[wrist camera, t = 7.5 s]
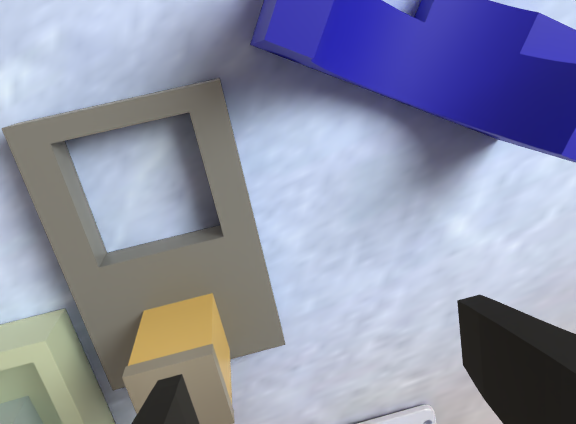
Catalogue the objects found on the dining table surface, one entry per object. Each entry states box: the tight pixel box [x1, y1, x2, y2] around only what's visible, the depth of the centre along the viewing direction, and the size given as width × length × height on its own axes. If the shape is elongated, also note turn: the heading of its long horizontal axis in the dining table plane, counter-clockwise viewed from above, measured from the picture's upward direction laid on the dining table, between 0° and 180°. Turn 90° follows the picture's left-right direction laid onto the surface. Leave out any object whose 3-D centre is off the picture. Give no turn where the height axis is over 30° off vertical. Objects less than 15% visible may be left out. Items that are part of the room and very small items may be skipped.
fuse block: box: [2, 78, 285, 424], centre depth 17 cm, size 12×8×6 cm, turn 11°
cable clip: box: [250, 0, 576, 162], centre depth 16 cm, size 12×4×6 cm, turn 70°
